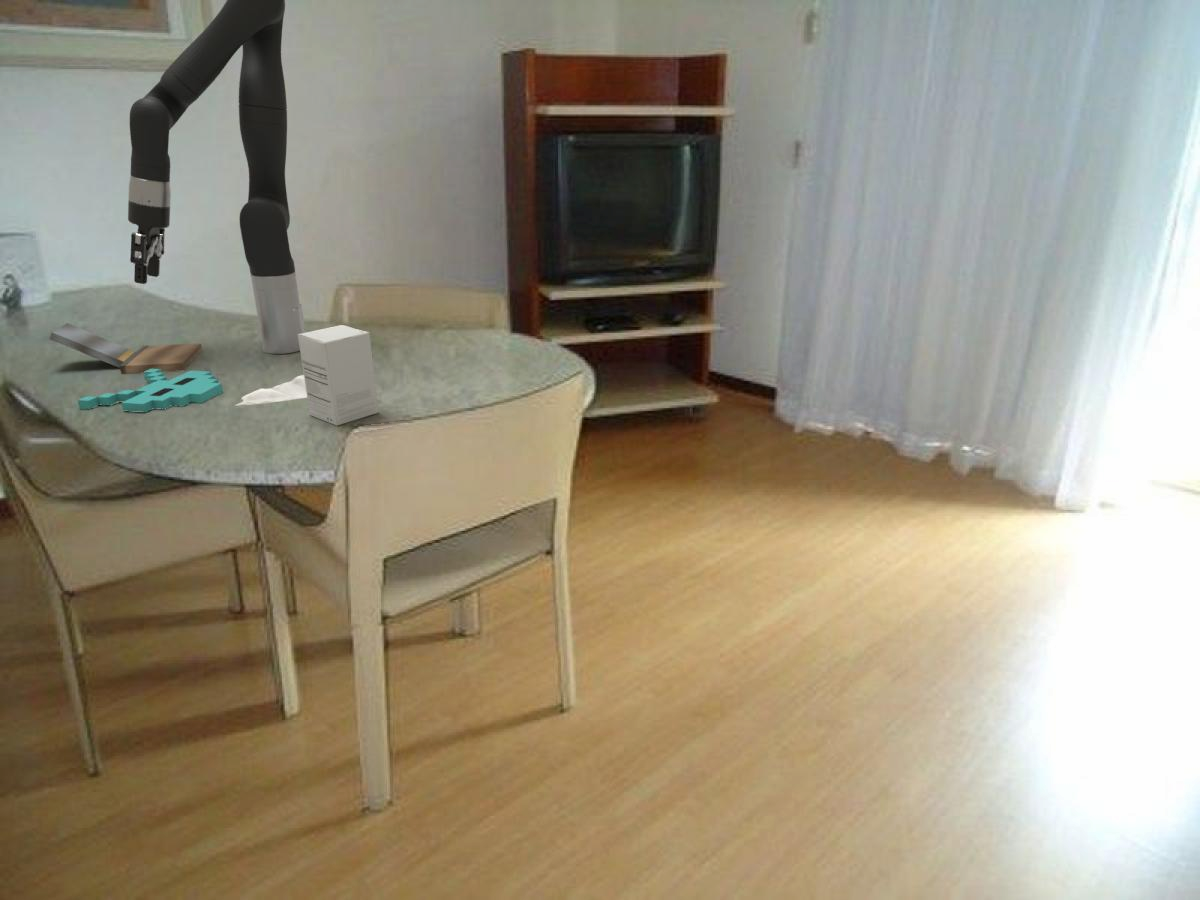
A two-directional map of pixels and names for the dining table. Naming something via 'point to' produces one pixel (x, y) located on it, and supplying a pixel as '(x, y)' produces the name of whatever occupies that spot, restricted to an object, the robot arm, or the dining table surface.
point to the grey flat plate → (91, 344)
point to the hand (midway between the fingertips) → (147, 279)
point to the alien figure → (161, 392)
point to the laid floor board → (161, 358)
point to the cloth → (277, 393)
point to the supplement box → (338, 374)
